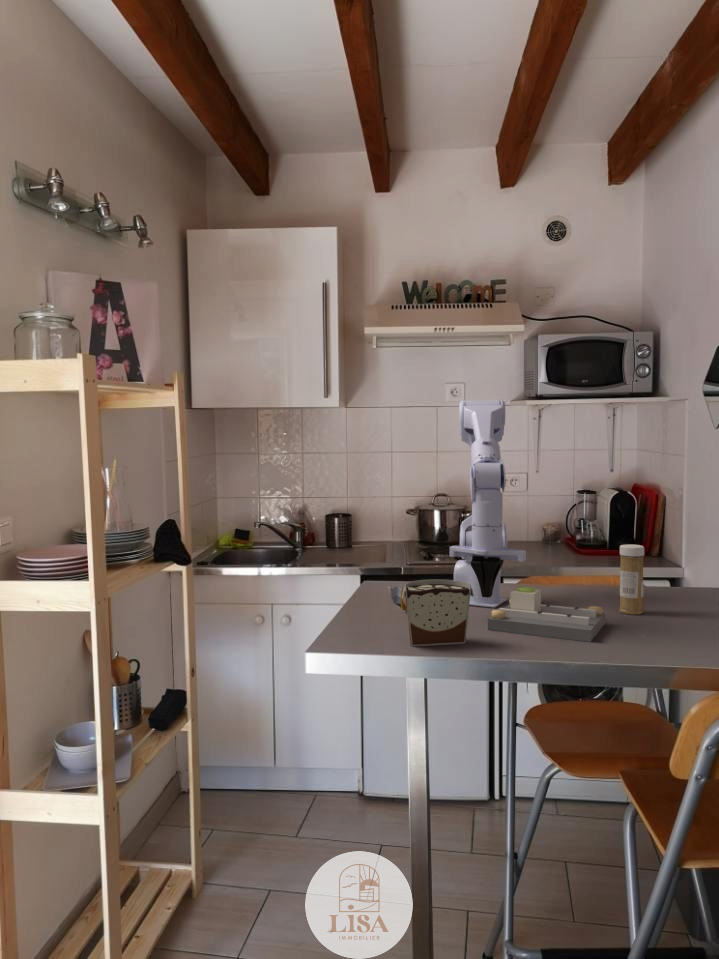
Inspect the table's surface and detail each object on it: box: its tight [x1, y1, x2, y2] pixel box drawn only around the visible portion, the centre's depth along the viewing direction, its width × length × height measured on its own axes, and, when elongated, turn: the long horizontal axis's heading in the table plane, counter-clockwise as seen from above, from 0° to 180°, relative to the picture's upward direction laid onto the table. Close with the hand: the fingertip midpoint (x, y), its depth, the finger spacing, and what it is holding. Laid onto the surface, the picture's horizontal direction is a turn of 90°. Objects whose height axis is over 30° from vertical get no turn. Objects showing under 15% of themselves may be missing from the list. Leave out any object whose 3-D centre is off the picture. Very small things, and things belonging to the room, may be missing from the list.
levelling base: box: [487, 598, 606, 643], centre depth 131 cm, size 18×14×3 cm
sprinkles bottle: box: [619, 543, 645, 616], centre depth 142 cm, size 5×5×14 cm
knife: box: [387, 585, 407, 612], centre depth 146 cm, size 25×1×5 cm, turn 10°
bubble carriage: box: [509, 585, 542, 612], centre depth 133 cm, size 4×5×5 cm
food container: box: [402, 579, 474, 647], centre depth 122 cm, size 12×6×10 cm, turn 100°
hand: (486, 596), depth 136 cm, fingers closed
